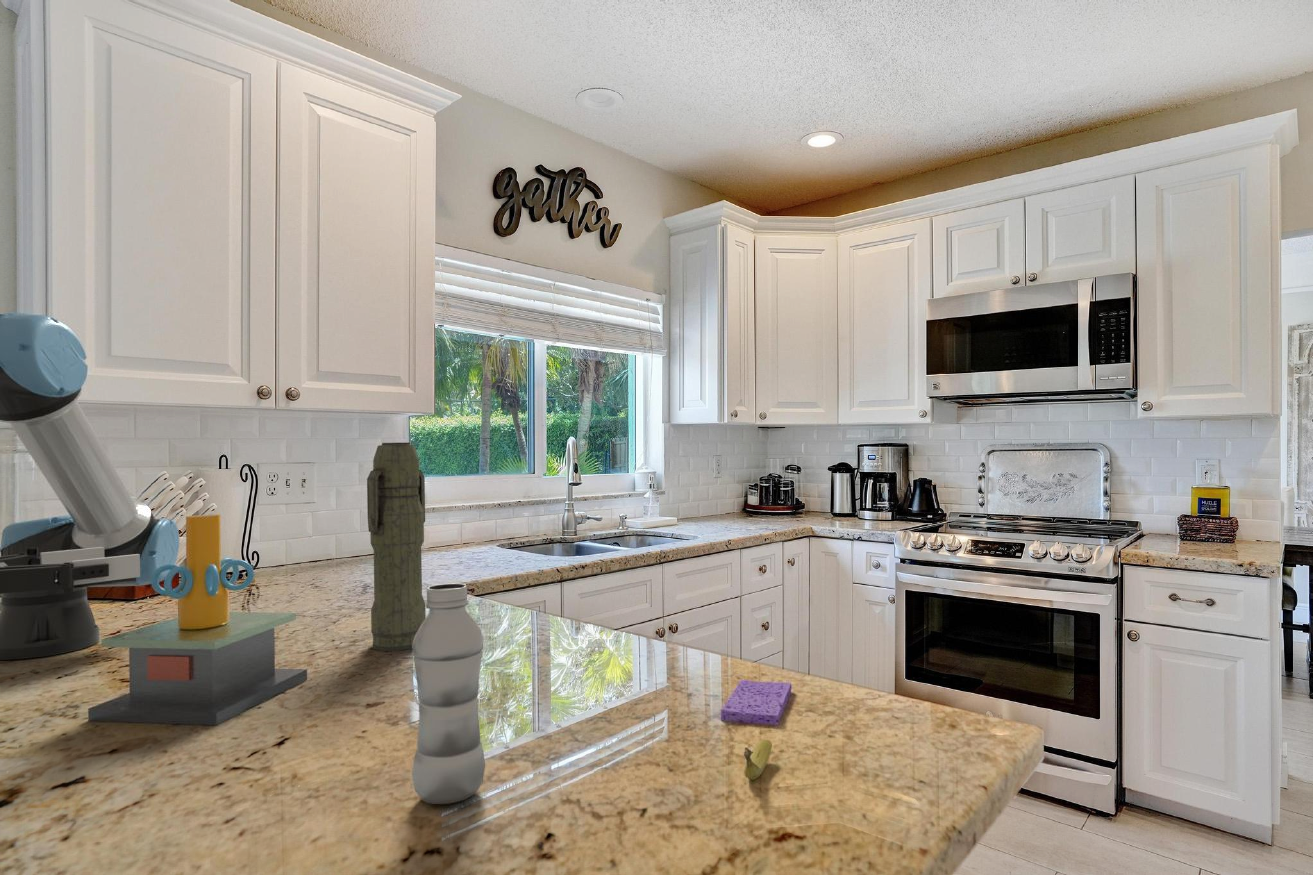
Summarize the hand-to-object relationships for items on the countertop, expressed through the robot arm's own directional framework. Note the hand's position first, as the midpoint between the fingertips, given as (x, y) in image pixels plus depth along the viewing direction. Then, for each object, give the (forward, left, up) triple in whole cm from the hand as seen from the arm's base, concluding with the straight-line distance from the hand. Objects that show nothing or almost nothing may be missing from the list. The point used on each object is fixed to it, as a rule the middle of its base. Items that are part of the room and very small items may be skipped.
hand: (120, 561), depth 93 cm
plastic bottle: (+16, +51, -20) cm, 57 cm away
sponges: (-12, +80, -21) cm, 83 cm away
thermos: (-37, +18, -20) cm, 46 cm away
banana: (+8, +80, -20) cm, 83 cm away
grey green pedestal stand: (-8, +5, -20) cm, 22 cm away
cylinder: (-8, +5, -10) cm, 14 cm away
